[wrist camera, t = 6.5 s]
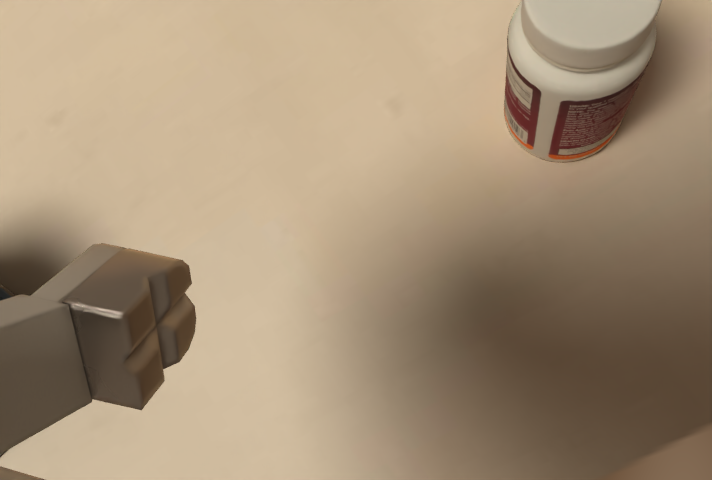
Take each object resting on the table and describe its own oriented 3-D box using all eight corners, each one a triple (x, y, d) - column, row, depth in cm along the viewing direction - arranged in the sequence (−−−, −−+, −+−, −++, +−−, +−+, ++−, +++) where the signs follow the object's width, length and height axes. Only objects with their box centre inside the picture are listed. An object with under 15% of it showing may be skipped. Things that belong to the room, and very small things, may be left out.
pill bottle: (637, 78, 28) (701, -59, 20) (597, 180, 27) (646, 80, 19) (526, 46, 29) (544, -96, 21) (485, 142, 28) (487, 34, 20)
